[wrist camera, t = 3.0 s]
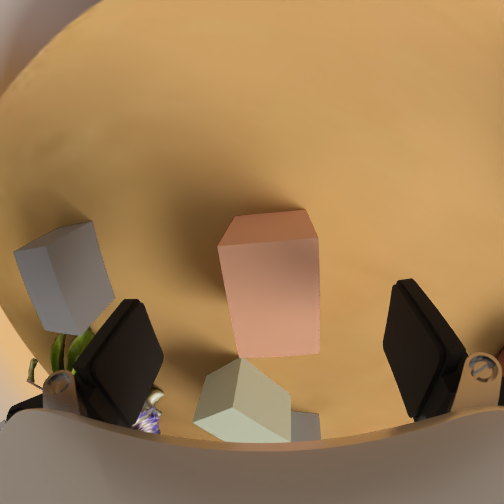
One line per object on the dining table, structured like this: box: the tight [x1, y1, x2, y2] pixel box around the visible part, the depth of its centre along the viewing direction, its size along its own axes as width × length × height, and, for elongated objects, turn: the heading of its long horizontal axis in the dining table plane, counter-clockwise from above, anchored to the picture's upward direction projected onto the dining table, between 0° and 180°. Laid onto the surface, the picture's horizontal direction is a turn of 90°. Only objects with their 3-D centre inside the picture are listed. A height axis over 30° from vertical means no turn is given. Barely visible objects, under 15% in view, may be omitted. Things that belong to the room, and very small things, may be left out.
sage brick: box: [192, 358, 291, 443], centre depth 18 cm, size 6×4×5 cm, turn 42°
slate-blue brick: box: [291, 411, 321, 442], centre depth 21 cm, size 6×4×5 cm, turn 167°
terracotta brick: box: [217, 210, 320, 358], centre depth 14 cm, size 6×4×5 cm, turn 7°
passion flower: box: [27, 327, 164, 434], centre depth 19 cm, size 13×12×14 cm
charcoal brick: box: [13, 221, 115, 336], centre depth 16 cm, size 6×4×5 cm, turn 7°
